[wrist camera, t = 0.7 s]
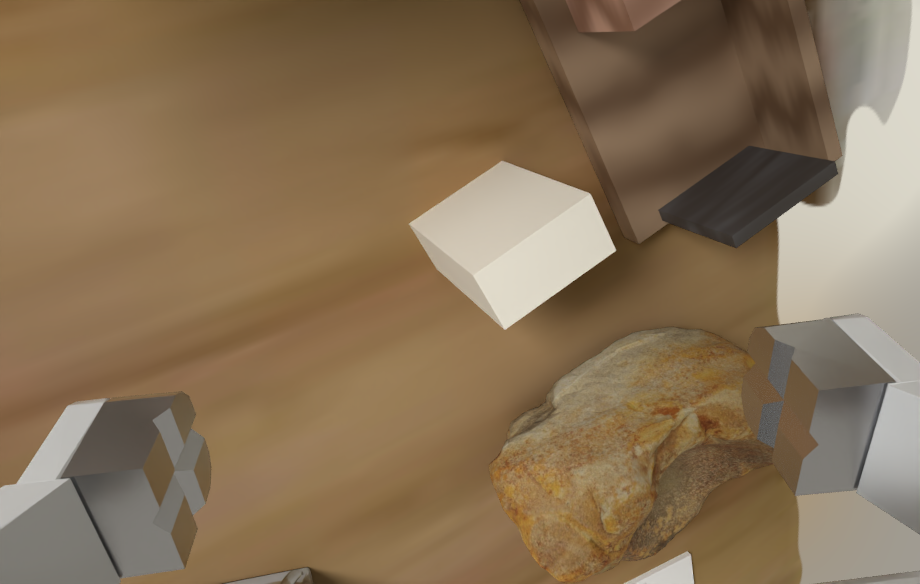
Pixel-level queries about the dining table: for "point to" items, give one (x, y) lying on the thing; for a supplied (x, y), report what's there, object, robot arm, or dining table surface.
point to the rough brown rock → (627, 450)
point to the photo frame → (669, 572)
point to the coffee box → (281, 578)
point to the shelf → (693, 108)
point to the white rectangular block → (513, 239)
